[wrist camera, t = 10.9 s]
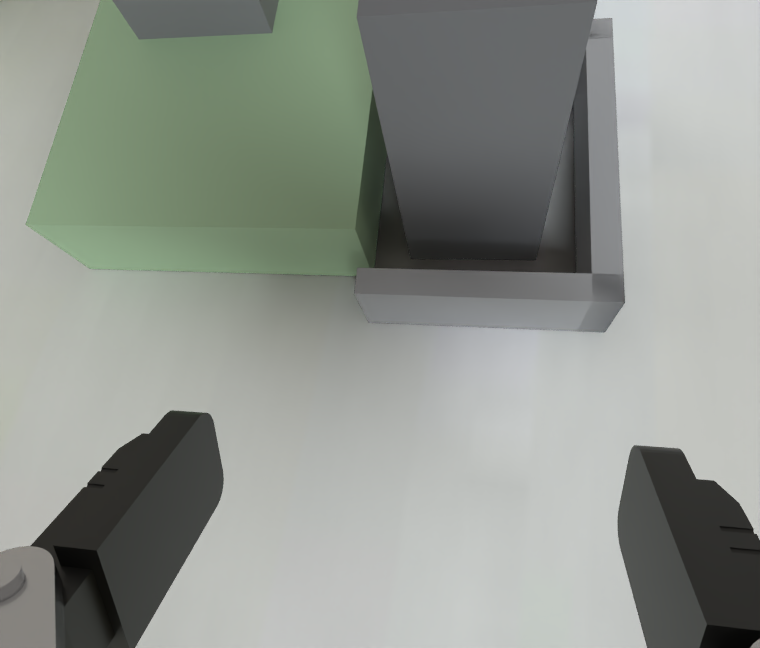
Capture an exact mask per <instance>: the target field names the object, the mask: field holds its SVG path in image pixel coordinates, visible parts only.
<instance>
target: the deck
mask: <svg viewBox="0 0 760 648" xmlns="http://www.w3.org/2000/svg"><path fill="white" fill-rule="evenodd" d="M358 1H359V0H101V1H100V4H99V7H98V10H97V13H96V16H95V19H94V22H93V25H92V28H91V31H90V34H89V37H88V39H87V42H86V45H85V48H84V51H83V54H82V57H81V60H80V63H79V66H78V69H77V72H76V75H75V78H74V81H73V84H72V87H71V90H70V93H69V96H68V99H67V102H66V105H65V108H64V111H63V114H62V117H61V120H60V123H59V126H58V129H57V132H56V135H55V138H54V141H53V144H52V147H51V150H50V153H49V156H48V159H47V162H46V165H45V168H44V171H43V174H42V177H41V180H40V183H39V186H38V189H37V192H36V195H35V198H34V201H33V204H32V207H31V210H30V213H29V216H28V219H27V222H26V225H27V226H28V227H30V228H31V229H33V230H34V231H36V232H37V233H38V234H40V235H41V236H43V237H44V238H46V239H47V240H49V241H50V242H52V243H53V244H54V245H56V246H57V247H59V248H60V249H62V250H63V251H65V252H66V253H68V254H69V255H71V256H72V257H73V258H75V259H76V260H78V261H79V262H81V263H82V264H84V265H85V266H87V267H88V268H90V269H117V270H153V271H189V272H225V273H261V274H297V275H333V276H356V282H355V290H354V294H355V296H356V298H357V300H358V302H359V304H360V306H361V308H362V310H363V312H364V314H365V316H366V319H367V321H368V322H372V323H396V324H420V325H444V326H468V327H492V328H516V329H540V330H564V331H588V332H605V331H606V330H607V328H608V327H609V325H610V324H611V322H612V321H613V319H614V318H615V316H616V315H617V313H618V312H619V311H620V309H621V308H622V306H623V305H624V303H625V294H624V272H623V250H622V227H621V205H620V183H619V160H618V138H617V116H616V93H615V71H614V49H613V27H612V18H604V19H593V21H592V25H591V30H590V34H589V38H588V42H587V46H586V51H585V55H584V59H583V63H582V68H581V72H580V76H579V80H578V84H577V89H576V93H575V97H574V101H573V109H574V173H575V237H576V273H548V272H509V271H469V270H429V269H389V268H374V266H375V257H376V248H377V239H378V230H379V221H380V212H381V202H382V193H383V184H384V175H385V166H386V157H387V150H386V146H385V141H384V137H383V133H382V128H381V124H380V119H379V115H378V110H377V106H376V101H375V97H374V92H373V88H372V84H371V79H370V75H369V70H368V66H367V61H366V57H365V52H364V48H363V43H362V39H361V35H360V30H359V26H358V21H357V9H358Z"/></svg>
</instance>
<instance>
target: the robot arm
mask: <svg viewBox="0 0 760 648" xmlns="http://www.w3.org/2000/svg"><path fill="white" fill-rule="evenodd" d="M223 479H224V478H223V469H222V464H221V459H220V453H219V448H218V443H217V437H216V432H215V427H214V422H213V419H212V417H211V415H210V414H208V413H200V412H186V411H170V412H168V413H167V414H166V415H165V416H164V417H163V418H162V419H161V421H160V422H159V423H158V424H157V425H156V426H155V428H154V429H153V430H152V431H151V432H150V433H149V434H141V435H140V436H138V437H136V438H135V439H133V440H132V441H130V442H129V443H127V444H125V445H124V446H122V447H121V448H119V449H118V450H117V451H116V452H115V453H114V454H113V456H112V457H111V458H110V459H109V460H108V461H107V462H106V463H105V464H104V465H103V467H102V470H101V472H100V471H98V472H97V473H96V474H95V475H94V476H93V478H92V479H91V480H90V481H89V482H88V485H87V487H84V488H83V489H82V490H81V491H80V492H79V493H78V494H77V495H76V496H75V497H74V499H73V500H72V501H71V502H70V503H69V504H68V505H67V506H66V507H65V508H64V510H63V511H62V512H61V513H60V514H59V515H58V516H57V517H56V518H55V520H54V521H53V522H52V523H51V524H50V525H49V526H48V527H47V528H46V529H45V531H44V532H43V533H42V534H41V535H40V536H39V537H38V538H37V539H36V540H35V542H34V543H33V544H32V545H31V546H25V547H17V548H13V549H9V550H6V551H3V552H0V648H135V647H136V645H137V643H138V641H139V640H140V638H141V636H142V635H143V633H144V631H145V629H146V628H147V626H148V624H149V623H150V621H151V619H152V617H153V616H154V614H155V612H156V610H157V609H158V607H159V605H160V604H161V602H162V600H163V598H164V597H165V595H166V593H167V591H168V590H169V588H170V586H171V585H172V583H173V581H174V579H175V578H176V576H177V574H178V573H179V571H180V569H181V567H182V566H183V564H184V562H185V560H186V559H187V557H188V555H189V554H190V552H191V550H192V548H193V547H194V545H195V543H196V541H197V540H198V538H199V536H200V535H201V533H202V531H203V529H204V528H205V526H206V524H207V523H208V521H209V519H210V517H211V516H212V514H213V512H214V510H215V509H216V507H217V505H218V503H219V501H220V498H221V494H222V490H223ZM618 537H619V544H620V548H621V552H622V556H623V560H624V563H625V567H626V571H627V574H628V578H629V582H630V586H631V589H632V593H633V597H634V600H635V604H636V608H637V612H638V615H639V619H640V623H641V626H642V630H643V634H644V637H645V641H646V645H647V648H760V540H759V538H758V536H757V534H754V532H753V527H752V525H751V524H750V522H749V520H748V518H747V516H746V515H745V513H744V511H743V509H742V507H741V506H740V504H739V503H738V502H737V501H736V500H735V499H734V498H733V497H732V496H730V495H729V494H728V493H727V492H726V491H725V490H724V489H723V488H722V487H720V486H719V485H718V484H717V483H716V482H715V481H711V480H698V479H696V477H695V475H694V473H693V471H692V469H691V467H690V465H689V463H688V461H687V459H686V457H685V455H684V453H683V452H682V450H680V449H678V448H664V447H650V446H637V445H635V446H633V447H632V449H631V452H630V455H629V460H628V465H627V470H626V475H625V480H624V485H623V490H622V495H621V500H620V505H619V511H618Z"/></svg>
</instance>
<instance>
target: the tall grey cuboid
mask: <svg viewBox="0 0 760 648" xmlns="http://www.w3.org/2000/svg"><path fill="white" fill-rule="evenodd" d="M596 4H597V0H359V1H358V9H357V21H358V26H359V30H360V35H361V39H362V43H363V48H364V52H365V57H366V61H367V66H368V70H369V75H370V79H371V84H372V88H373V92H374V97H375V101H376V106H377V110H378V115H379V119H380V124H381V128H382V133H383V137H384V141H385V146H386V150H387V155H388V159H389V164H390V168H391V173H392V177H393V181H394V186H395V190H396V195H397V199H398V204H399V208H400V213H401V217H402V222H403V226H404V230H405V235H406V239H407V244H408V248H409V253H410V257H411V259H484V260H536V257H537V253H538V249H539V244H540V240H541V236H542V232H543V228H544V223H545V219H546V215H547V211H548V207H549V202H550V198H551V194H552V190H553V185H554V181H555V177H556V173H557V169H558V164H559V160H560V156H561V152H562V148H563V143H564V139H565V135H566V131H567V126H568V122H569V118H570V114H571V110H572V105H573V101H574V97H575V93H576V89H577V84H578V80H579V76H580V72H581V68H582V63H583V59H584V55H585V51H586V46H587V42H588V38H589V34H590V30H591V25H592V21H593V17H594V13H595V9H596Z"/></svg>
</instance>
